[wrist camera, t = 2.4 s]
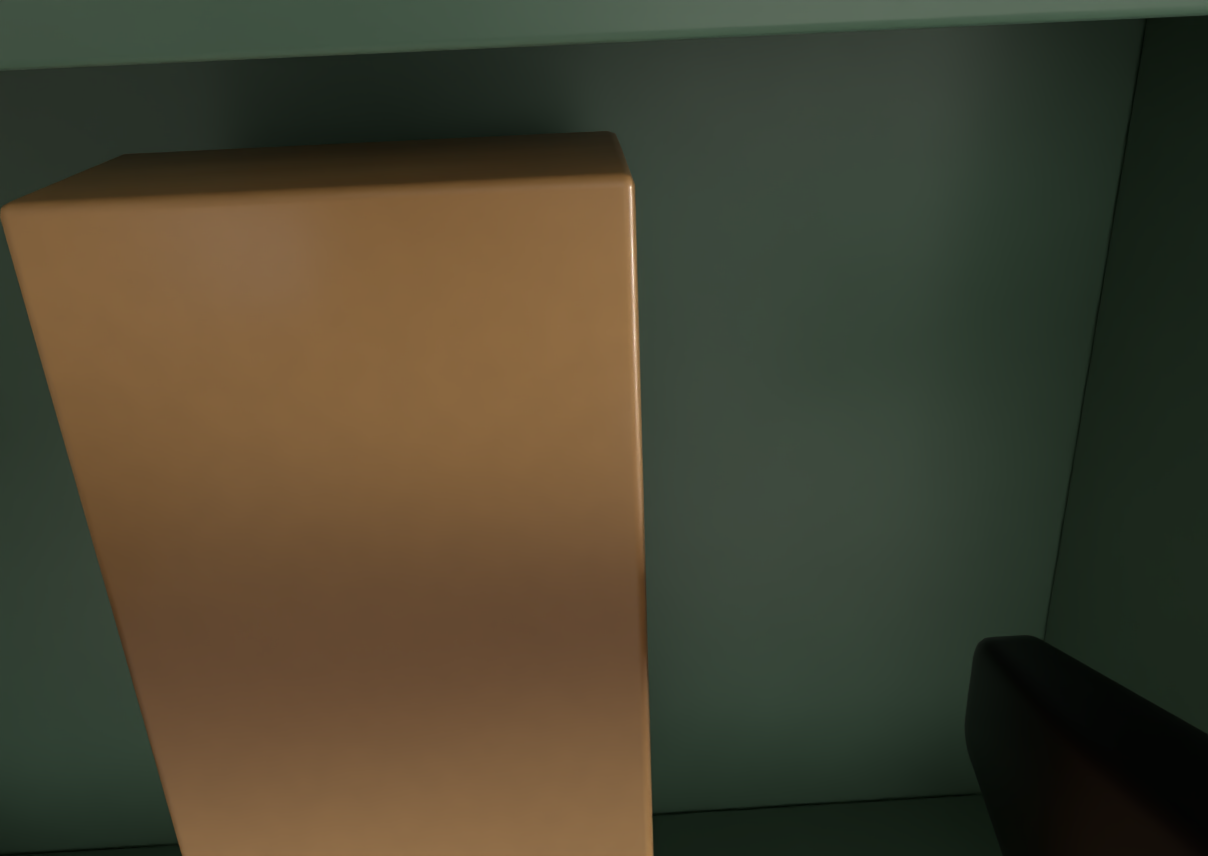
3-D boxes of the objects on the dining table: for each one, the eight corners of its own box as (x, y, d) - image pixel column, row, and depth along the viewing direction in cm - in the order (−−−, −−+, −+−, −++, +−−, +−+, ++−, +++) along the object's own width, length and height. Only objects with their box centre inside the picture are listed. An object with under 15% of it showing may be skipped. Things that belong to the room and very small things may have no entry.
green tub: (1039, 793, 14) (1239, 1133, 10) (-79, 863, 14) (-351, 1245, 10) (1194, -83, 10) (1673, -124, 5) (-454, -11, 9) (-1264, 4, 5)
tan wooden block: (633, 765, 13) (658, 1028, 10) (315, 785, 13) (235, 1056, 10) (609, 107, 10) (635, 174, 6) (180, 126, 9) (-11, 204, 6)
